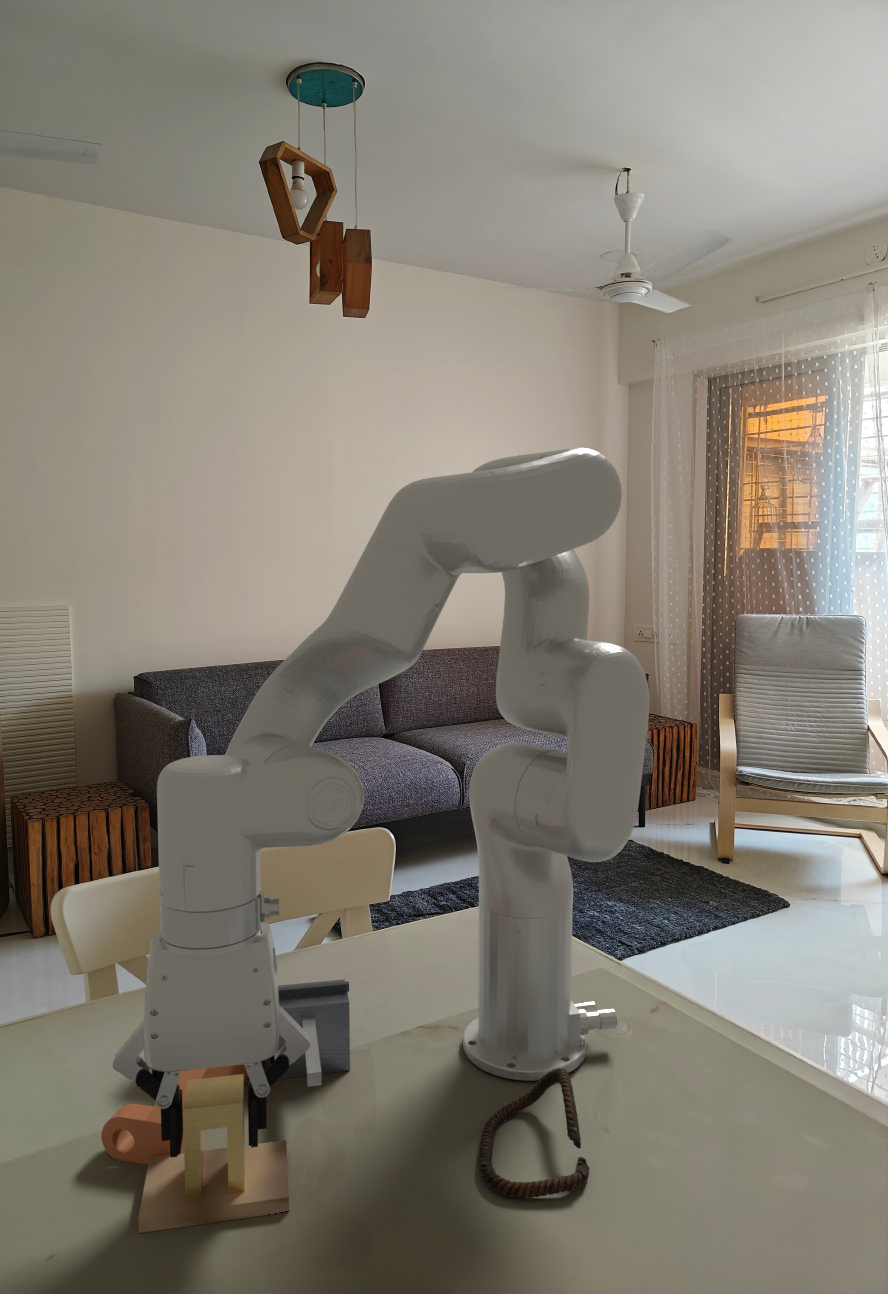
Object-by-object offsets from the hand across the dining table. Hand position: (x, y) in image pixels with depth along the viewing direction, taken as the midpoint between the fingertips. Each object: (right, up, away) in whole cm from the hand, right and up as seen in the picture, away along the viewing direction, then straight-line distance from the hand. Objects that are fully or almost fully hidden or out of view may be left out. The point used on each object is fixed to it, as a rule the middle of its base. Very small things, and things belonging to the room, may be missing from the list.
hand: (215, 1139), depth 70 cm
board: (0, -4, 0) cm, 4 cm away
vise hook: (+5, -3, +15) cm, 16 cm away
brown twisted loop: (+26, -4, +5) cm, 27 cm away
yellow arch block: (0, -4, 0) cm, 4 cm away
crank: (-6, -4, +14) cm, 15 cm away
